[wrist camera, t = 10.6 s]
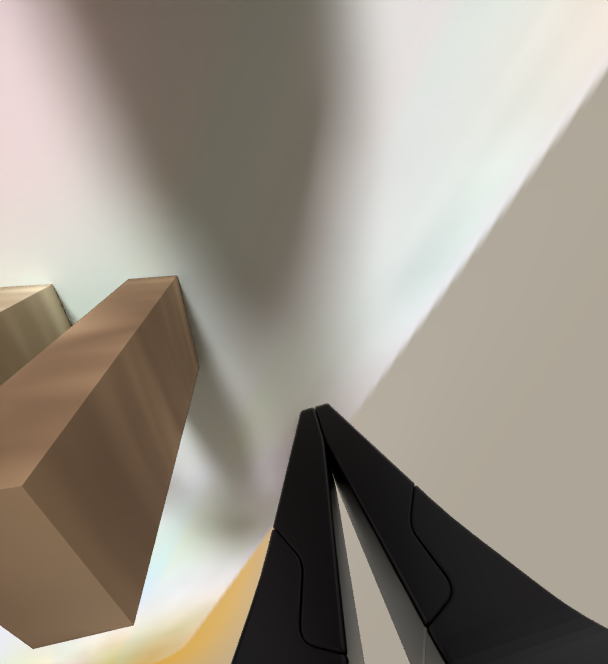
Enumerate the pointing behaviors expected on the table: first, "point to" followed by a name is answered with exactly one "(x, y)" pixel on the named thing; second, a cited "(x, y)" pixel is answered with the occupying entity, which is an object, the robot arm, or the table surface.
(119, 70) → the table surface
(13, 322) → the light brown wooden block
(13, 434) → the tile
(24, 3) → the table surface
